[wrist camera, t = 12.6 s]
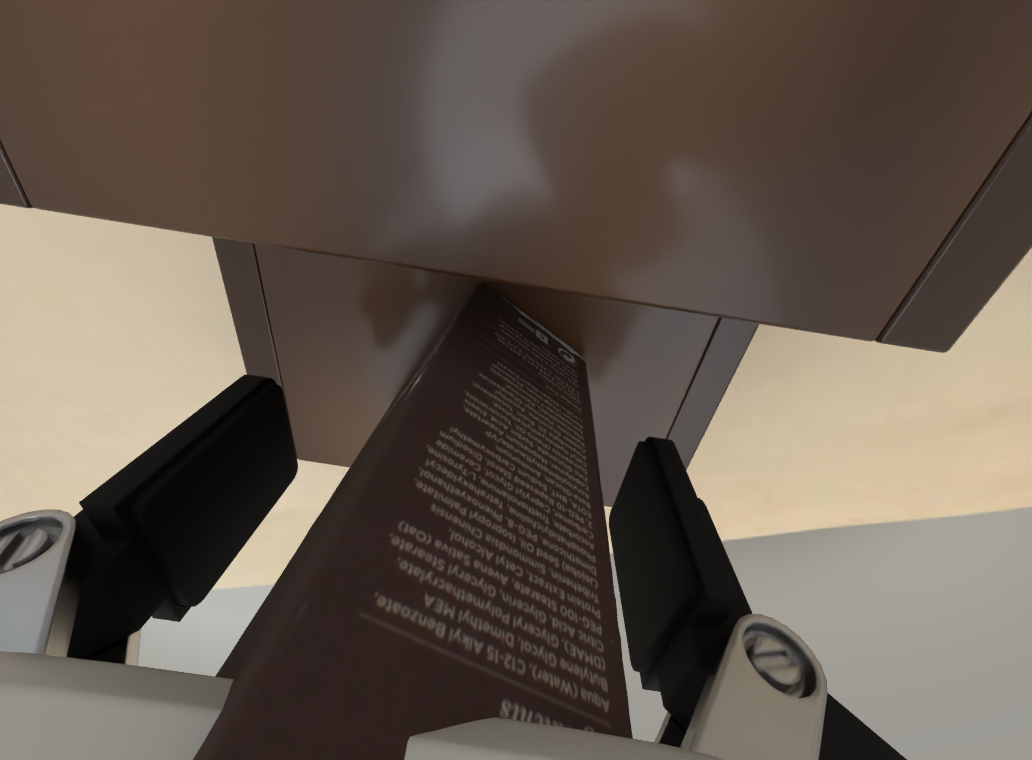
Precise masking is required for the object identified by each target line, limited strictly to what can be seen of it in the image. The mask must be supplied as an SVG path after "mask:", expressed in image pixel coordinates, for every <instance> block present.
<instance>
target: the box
mask: <svg viewBox="0 0 1032 760" xmlns="http://www.w3.org/2000/svg"><path fill="white" fill-rule="evenodd" d="M215 677H220V678H227V679H233V682H232V685H231V688H230V690H229V693H228V696H227V698H226V701H225V704H224V706H223V709H222V711H221V713H220V715H219V716H218V718H217V720H216V721H215V723H214V725H213V727H212V728H211V730H210V732H209V733H208V735H207V737H206V739H205V740H204V742H203V744H202V745H201V747H200V749H199V750H198V752H197V754H196V755H195V757H194V759H193V760H404V758H405V754H406V749H407V743H408V740H409V738H410V737H411V736H414V735H418V734H422V733H427V732H432V731H437V730H440V729H444V728H448V727H451V726H455V725H459V724H464V723H468V722H473V721H477V720H483V719H488V718H493V717H498V718H505V719H511V720H518V721H525V722H531V723H538V724H545V725H551V726H558V727H565V728H572V729H578V730H584V731H589V732H595V733H601V734H607V735H613V736H619V737H625V738H631V739H633V738H632V730H631V724H630V716H629V706H628V696H627V690H626V682H625V675H624V668H623V661H622V650H621V638H620V633H619V628H618V621H617V608H616V599H615V594H614V586H613V578H612V568H611V561H610V552H609V542H608V533H607V526H606V519H605V510H604V502H603V494H602V488H601V480H600V471H599V462H598V453H597V446H596V435H595V430H594V421H593V413H592V404H591V397H590V389H589V383H588V373H587V362H586V361H585V360H584V359H583V358H582V357H581V356H580V355H579V354H578V353H577V352H576V351H575V350H573V348H572V347H571V346H570V345H569V344H567V343H565V342H564V341H562V340H560V339H559V338H558V337H557V336H555V335H554V334H553V333H551V332H550V331H548V330H547V329H546V328H545V327H544V326H543V325H542V324H540V323H538V322H537V321H535V320H533V319H532V318H530V317H529V316H528V315H527V314H526V313H524V312H523V311H521V310H520V309H519V308H517V307H516V306H514V305H513V304H511V303H510V302H509V301H507V300H506V299H505V298H503V297H502V296H501V295H499V294H498V293H497V292H496V291H494V290H492V289H491V288H489V287H488V286H486V285H485V284H484V283H482V282H480V283H478V284H476V286H475V287H474V289H473V290H472V292H471V293H470V295H469V296H468V298H467V299H466V301H465V302H464V304H463V305H462V306H461V308H460V309H459V310H458V312H457V314H456V315H455V317H454V318H453V320H452V321H451V322H450V324H449V325H448V327H447V328H446V330H445V331H444V332H443V334H442V335H441V337H440V338H439V340H438V341H437V342H436V344H435V345H434V347H433V348H432V350H431V351H430V352H429V354H428V355H427V357H426V358H425V359H424V361H423V362H422V364H421V365H420V367H419V368H418V369H417V371H416V372H415V374H414V375H413V377H412V378H411V380H410V381H409V382H408V383H407V384H406V385H405V387H404V388H403V390H402V391H401V392H400V394H399V395H398V396H397V397H396V399H395V400H394V401H393V402H392V403H391V405H390V406H389V408H388V410H387V411H386V413H385V414H384V416H383V417H382V419H381V421H380V422H379V423H378V425H377V427H376V428H375V430H374V431H373V432H372V434H371V436H370V437H369V439H368V440H367V442H366V443H365V445H364V446H363V448H362V450H361V451H360V453H359V454H358V456H357V457H356V459H355V460H354V462H353V464H352V465H351V467H350V468H349V470H348V472H347V473H346V475H345V476H344V478H343V479H342V481H341V482H340V484H339V485H338V487H337V488H336V490H335V492H334V493H333V495H332V497H331V498H330V500H329V501H328V503H327V504H326V506H325V507H324V509H323V510H322V512H321V514H320V515H319V516H318V518H317V519H316V521H315V522H314V524H313V525H312V527H311V528H310V530H309V531H308V533H307V535H306V537H305V538H304V540H303V542H302V543H301V545H300V546H299V548H298V549H297V551H296V552H295V554H294V556H293V557H292V559H291V560H290V562H289V563H288V565H287V566H286V568H285V570H284V571H283V573H282V574H281V576H280V577H279V579H278V580H277V582H276V584H275V585H274V587H273V588H272V590H271V592H270V593H269V594H268V596H267V597H266V599H265V601H264V602H263V604H262V605H261V607H260V608H259V610H258V611H257V613H256V615H255V616H254V618H253V619H252V621H251V622H250V624H249V625H248V627H247V628H246V630H245V631H244V633H243V635H242V636H241V638H240V639H239V641H238V642H237V644H236V646H235V647H234V649H233V650H232V652H231V654H230V655H229V657H228V658H227V660H226V661H225V663H224V664H223V666H222V667H221V669H220V670H219V672H218V673H217V675H216V676H215Z"/></svg>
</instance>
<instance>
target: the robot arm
mask: <svg viewBox="0 0 1032 760" xmlns="http://www.w3.org/2000/svg"><path fill="white" fill-rule="evenodd" d="M297 469H298V463H297V458H296V454H295V449H294V444H293V439H292V434H291V429H290V424H289V419H288V414H287V409H286V404H285V400H284V395H283V390H282V388H281V386H279V385H277V384H276V382H275V380H274V379H272V378H268V377H262V376H255V375H244V376H242V377H241V378H239V379H238V380H237V381H235V382H234V383H233V384H232V385H230V386H229V387H228V388H226V389H225V390H224V391H222V392H221V393H220V394H219V395H217V396H216V397H215V398H213V399H212V400H211V401H210V402H208V403H207V404H206V405H204V406H203V407H202V408H200V409H199V410H198V411H197V412H195V413H194V414H193V415H191V416H190V417H189V418H188V419H186V420H185V421H184V422H182V423H181V424H180V425H179V426H177V427H176V428H175V429H173V430H172V431H171V432H169V433H168V434H167V435H166V436H164V437H163V438H162V439H160V440H159V441H158V442H157V443H155V444H154V445H153V446H151V447H150V448H149V449H147V450H146V451H145V452H144V453H142V454H141V455H140V456H138V457H137V458H136V459H135V460H133V461H132V462H131V463H129V464H128V465H127V466H126V467H124V468H123V469H122V470H120V471H119V472H118V473H116V474H115V475H114V476H113V477H111V478H110V479H109V480H107V481H106V482H105V483H104V484H102V485H101V486H100V487H98V488H97V489H96V490H94V491H93V492H92V493H91V494H89V495H88V496H87V497H85V498H84V499H83V500H82V501H80V502H79V503H80V505H81V506H82V508H83V510H82V511H80V512H79V513H78V514H77V515H75V516H74V517H73V516H72V515H71V514H70V513H68V512H64V511H61V510H39V511H33V512H28V513H24V514H20V515H17V516H14V517H11V518H8V519H5V520H3V521H1V522H0V760H193V759H194V757H195V755H196V754H197V752H198V750H199V749H200V747H201V745H202V744H203V742H204V740H205V739H206V737H207V735H208V733H209V732H210V730H211V728H212V727H213V725H214V723H215V721H216V720H217V718H218V716H219V715H220V713H221V711H222V709H223V706H224V704H225V701H226V698H227V696H228V693H229V690H230V688H231V685H232V682H233V679H227V678H220V677H212V676H206V675H198V674H191V673H184V672H177V671H169V670H162V669H155V668H147V667H141V666H138V656H139V647H140V636H141V628H142V626H143V625H144V624H145V623H146V622H147V621H148V619H149V618H150V617H151V616H152V617H153V618H157V619H164V620H171V621H177V622H180V621H181V619H182V618H183V617H184V615H185V614H186V613H187V611H188V610H189V609H190V608H191V606H196V605H198V604H199V603H200V602H201V601H202V600H203V599H204V598H205V597H206V596H207V594H208V593H209V591H210V590H211V589H212V588H213V586H214V585H215V584H216V582H217V581H218V580H219V578H220V577H221V576H222V574H223V573H224V572H225V570H226V569H227V568H228V566H229V565H230V564H231V562H232V561H233V560H234V558H235V557H236V556H237V554H238V553H239V552H240V550H241V549H242V548H243V546H244V545H245V544H246V542H247V541H248V540H249V538H250V537H251V536H252V534H253V533H254V532H255V530H256V529H257V528H258V526H259V525H260V524H261V522H262V521H263V520H264V518H265V517H266V516H267V514H268V513H269V512H270V510H271V509H272V507H273V506H274V505H275V503H276V502H277V501H278V499H279V498H280V497H281V495H282V494H283V493H284V491H285V490H286V489H287V487H288V486H289V485H290V483H291V482H292V481H293V479H294V478H295V476H296V473H297ZM609 529H610V535H611V541H612V548H613V554H614V560H615V566H616V572H617V579H618V585H619V591H620V598H621V604H622V611H623V617H624V623H625V629H626V636H627V642H628V648H629V654H630V661H631V665H632V668H633V670H634V671H637V672H640V677H641V682H642V688H643V689H645V690H652V691H659V692H661V696H662V701H663V706H664V708H665V709H666V710H667V711H668V712H667V714H666V717H665V719H664V721H663V724H662V726H661V728H660V730H659V733H658V735H657V737H656V740H655V742H648V741H642V740H636V739H631V738H625V737H619V736H613V735H607V734H601V733H595V732H589V731H584V730H578V729H572V728H565V727H558V726H551V725H545V724H538V723H531V722H525V721H518V720H511V719H505V718H498V717H493V718H488V719H483V720H477V721H473V722H468V723H464V724H459V725H455V726H451V727H448V728H444V729H440V730H437V731H432V732H427V733H422V734H418V735H414V736H411V737H410V738H409V740H408V743H407V749H406V754H405V758H404V760H907V759H905V758H904V757H903V756H902V755H900V754H899V753H898V752H897V751H896V750H895V749H893V748H892V747H891V746H890V745H889V744H888V743H886V742H885V741H884V740H883V739H882V738H880V737H879V736H878V735H877V734H876V733H874V732H873V731H872V730H871V729H870V728H869V727H867V726H866V725H865V724H864V723H863V722H862V721H860V720H859V719H858V718H857V717H855V716H854V715H853V714H852V713H851V712H849V710H847V709H846V708H845V707H844V706H842V705H841V704H840V703H839V702H838V701H837V700H836V699H834V698H833V697H832V696H831V695H830V694H828V693H827V680H826V677H825V675H824V672H823V669H822V666H821V664H820V663H819V661H818V659H817V658H816V656H815V655H814V653H813V651H812V650H811V649H810V648H809V647H808V645H807V644H806V643H805V642H804V641H803V640H802V639H801V638H800V637H799V636H798V635H797V634H796V633H795V632H793V631H792V630H791V629H790V628H789V627H787V626H786V625H784V624H782V623H781V622H779V621H777V620H775V619H773V618H771V617H767V616H764V615H761V614H752V611H751V609H750V607H749V604H748V602H747V600H746V598H745V595H744V593H743V591H742V588H741V586H740V584H739V581H738V579H737V577H736V574H735V572H734V570H733V567H732V565H731V563H730V560H729V558H728V556H727V554H726V551H725V549H724V547H723V544H722V542H721V540H720V537H719V535H718V533H717V530H716V528H715V526H714V523H713V521H712V519H711V516H710V514H709V512H708V510H707V507H706V505H705V504H704V502H703V501H702V500H701V499H700V498H697V496H696V493H695V491H694V488H693V486H692V484H691V481H690V479H689V476H688V474H687V472H686V469H685V467H684V465H683V462H682V460H681V457H680V455H679V453H678V450H677V448H676V445H675V443H674V442H673V441H672V440H669V439H663V438H656V437H647V439H646V440H645V442H644V441H639V442H638V444H637V446H636V449H635V451H634V454H633V456H632V459H631V461H630V464H629V466H628V469H627V471H626V474H625V476H624V479H623V482H622V484H621V487H620V489H619V492H618V494H617V497H616V499H615V502H614V504H613V507H612V509H611V512H610V516H609Z"/></svg>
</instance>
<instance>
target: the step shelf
mask: <svg viewBox="0 0 1032 760" xmlns="http://www.w3.org/2000/svg"><path fill="white" fill-rule="evenodd" d="M0 204H5V205H11V206H18V207H24V208H37V209H41V210H47V211H54V212H60V213H66V214H72V215H79V216H85V217H91V218H98V219H104V220H110V221H116V222H123V223H129V224H135V225H142V226H148V227H154V228H160V229H167V230H173V231H179V232H186V233H192V234H198V235H204V236H211V237H212V238H213V242H214V246H215V250H216V254H217V258H218V262H219V266H220V270H221V274H222V278H223V282H224V286H225V290H226V294H227V298H228V302H229V305H230V309H231V313H232V317H233V321H234V325H235V329H236V333H237V337H238V341H239V345H240V349H241V353H242V357H243V361H244V365H245V369H246V373H247V375H255V376H262V377H268V378H272V379H274V380H275V382H276V384H277V385H279V386H281V388H282V390H283V395H284V400H285V404H286V409H287V414H288V419H289V424H290V429H291V434H292V439H293V444H294V449H295V454H296V458H298V459H299V460H305V461H311V462H318V463H325V464H331V465H338V466H344V467H351V465H352V464H353V462H354V460H355V459H356V457H357V456H358V454H359V453H360V451H361V450H362V448H363V446H364V445H365V443H366V442H367V440H368V439H369V437H370V436H371V434H372V432H373V431H374V430H375V428H376V427H377V425H378V423H379V422H380V421H381V419H382V417H383V416H384V414H385V413H386V411H387V410H388V408H389V406H390V405H391V403H392V402H393V401H394V400H395V399H396V397H397V396H398V395H399V394H400V392H401V391H402V390H403V388H404V387H405V385H406V384H407V383H408V382H409V381H410V380H411V378H412V377H413V375H414V374H415V372H416V371H417V369H418V368H419V367H420V365H421V364H422V362H423V361H424V359H425V358H426V357H427V355H428V354H429V352H430V351H431V350H432V348H433V347H434V345H435V344H436V342H437V341H438V340H439V338H440V337H441V335H442V334H443V332H444V331H445V330H446V328H447V327H448V325H449V324H450V322H451V321H452V320H453V318H454V317H455V315H456V314H457V312H458V310H459V309H460V308H461V306H462V305H463V304H464V302H465V301H466V299H467V298H468V296H469V295H470V293H471V292H472V290H473V289H474V287H475V286H476V284H478V283H480V282H482V283H484V284H485V285H486V286H488V287H489V288H491V289H492V290H494V291H496V292H497V293H498V294H499V295H501V296H502V297H503V298H505V299H506V300H507V301H509V302H510V303H511V304H513V305H514V306H516V307H517V308H519V309H520V310H521V311H523V312H524V313H526V314H527V315H528V316H529V317H530V318H532V319H533V320H535V321H537V322H538V323H540V324H542V325H543V326H544V327H545V328H546V329H547V330H548V331H550V332H551V333H553V334H554V335H555V336H557V337H558V338H559V339H560V340H562V341H564V342H565V343H567V344H569V345H570V346H571V347H572V348H573V350H575V351H576V352H577V353H578V354H579V355H580V356H581V357H582V358H583V359H584V360H585V361H586V362H587V373H588V383H589V389H590V397H591V404H592V413H593V421H594V430H595V435H596V446H597V453H598V462H599V471H600V480H601V488H602V494H603V502H604V506H609V507H613V504H614V502H615V499H616V497H617V494H618V492H619V489H620V487H621V484H622V482H623V479H624V476H625V474H626V471H627V469H628V466H629V464H630V461H631V459H632V456H633V454H634V451H635V449H636V446H637V444H638V442H639V441H644V442H645V440H646V439H647V437H656V438H663V439H669V440H672V441H673V442H674V443H675V445H676V448H677V450H678V453H679V455H680V457H681V460H682V462H683V465H684V467H685V469H687V467H688V465H689V463H690V461H691V459H692V457H693V455H694V453H695V451H696V449H697V447H698V445H699V443H700V441H701V439H702V437H703V436H704V434H705V432H706V430H707V428H708V426H709V424H710V422H711V420H712V418H713V416H714V414H715V412H716V410H717V408H718V406H719V404H720V402H721V400H722V398H723V396H724V394H725V392H726V390H727V388H728V386H729V384H730V382H731V380H732V378H733V376H734V374H735V372H736V370H737V368H738V366H739V364H740V362H741V360H742V358H743V356H744V354H745V352H746V350H747V348H748V346H749V344H750V342H751V340H752V338H753V336H754V334H755V332H756V330H757V328H758V326H759V324H764V325H770V326H777V327H783V328H789V329H795V330H802V331H808V332H814V333H821V334H827V335H833V336H839V337H846V338H852V339H858V340H865V341H876V342H878V343H883V344H890V345H896V346H902V347H909V348H915V349H921V350H927V351H934V352H942V353H944V352H947V351H948V350H950V348H951V347H952V346H953V345H954V343H955V342H956V341H957V340H958V338H959V337H960V336H961V335H962V334H963V332H964V331H965V330H966V329H967V327H968V326H969V325H970V324H971V322H972V321H973V320H974V319H975V317H976V316H977V315H978V314H979V312H980V311H981V310H982V309H983V307H984V306H985V305H986V304H987V302H988V301H989V300H990V299H991V297H992V296H993V295H994V294H995V292H996V291H997V290H998V289H999V287H1000V286H1001V285H1002V284H1003V283H1004V281H1005V280H1006V279H1007V278H1008V276H1009V275H1010V274H1011V273H1012V271H1013V270H1014V269H1015V268H1016V266H1017V265H1018V264H1019V263H1020V261H1021V260H1022V259H1023V258H1024V256H1025V255H1026V254H1027V253H1028V251H1029V250H1030V249H1031V248H1032V0H0Z"/></svg>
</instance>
